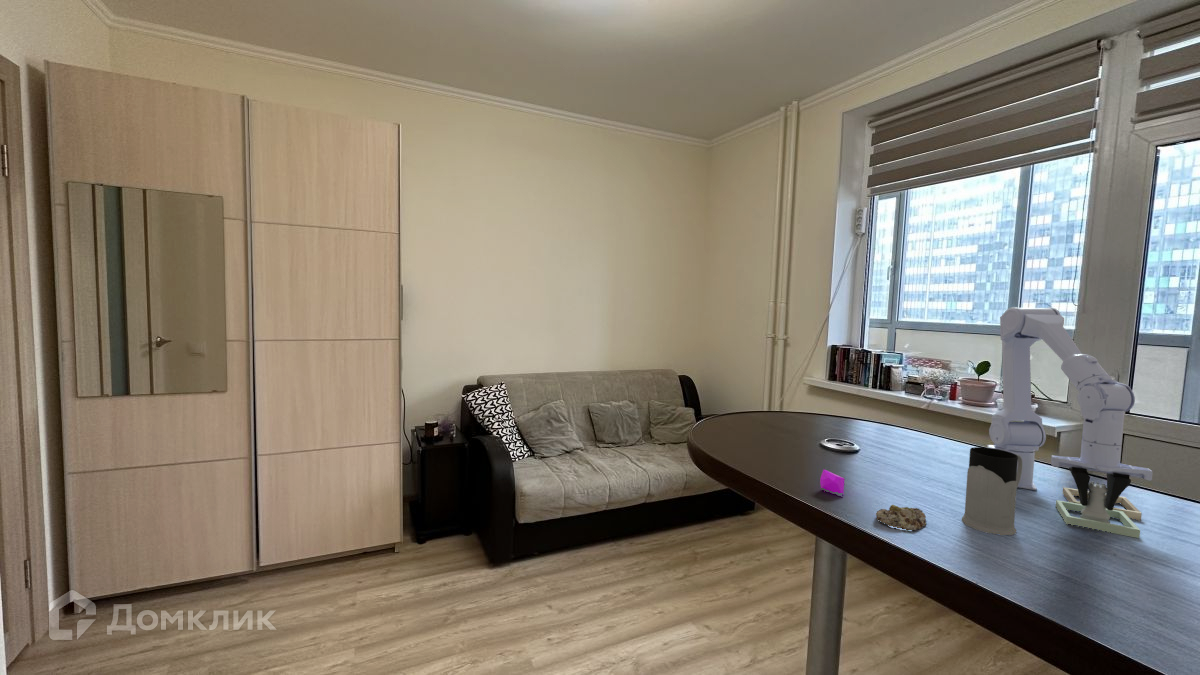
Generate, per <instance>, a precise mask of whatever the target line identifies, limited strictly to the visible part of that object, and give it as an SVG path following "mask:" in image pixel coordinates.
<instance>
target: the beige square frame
mask: <svg viewBox="0 0 1200 675" xmlns="http://www.w3.org/2000/svg"><path fill="white" fill-rule="evenodd" d="M1088 493H1089V490H1088ZM1063 494H1064V495H1063ZM1062 495H1063V496H1064V498H1065V497H1066V498H1067V499H1066V498H1065V499H1066V501H1067V500H1068V501H1069V502H1071V503H1077V504H1081V503H1080V500H1079V501H1078V500H1077V499H1076V497H1074V496H1079V492H1078V488H1077V489H1076V488H1070V487H1066V486H1063V487H1062ZM1073 495H1074V496H1073ZM1105 496H1106V493H1105ZM1088 497H1089V495H1088ZM1105 499H1106V498H1105ZM1068 501H1067V502H1068ZM1116 503H1121V504H1120V505H1123V506H1124V507H1125V508H1126V509H1127V510H1126V509H1125V508H1124V507H1123V506H1122V507H1123V508H1118V507H1113V510H1117V511H1123V512H1124V513H1125V514H1126V515H1127V516H1128V518H1132V519H1131V520H1134V519H1136V521H1142V516H1143V515H1142V514H1143V513H1142V512H1141V511H1140V510H1139V509H1138V508H1137V507H1136V506H1135V505H1134V504H1133V503H1132V502H1131V501H1130V500H1129V499H1128V498H1127V497H1126V496H1121V495H1120V496H1119V497H1118V499H1117V501H1116ZM1116 503H1115V504H1116ZM1105 509H1107V508H1106V507H1105Z"/></svg>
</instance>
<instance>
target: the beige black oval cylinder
mask: <svg viewBox="0 0 1200 675" xmlns="http://www.w3.org/2000/svg"><path fill="white" fill-rule="evenodd" d="M968 459H969V460H968V468H967V473H966V486H965V487H966V488H965V489H966V491H965V503H964V515H963V516H962V517H961V522H962V523H963V524H964V525H966V526H967V527H969V528H971V529H974V530H976V531H979V532H982V531H983V532H982V533H986V532H987V534H990V533H993V534H992V535H995V534H1000V535H999V536H1003V535H1009V536H1014V535H1016V534H1017V532H1016V531H1017V528H1016V527H1015V515H1016V502H1017V490H1018V488H1019V487H1018V484H1019V481H1020V477H1021V473H1022V458H1021V457H1020V456H1019V455H1016V454H1013V453H1011V452H1008V451H1004V450H999V449H993V448H987V447H982V446H981V447H980V446H975V447H971V448H969V458H968ZM1017 461H1018V469H1017ZM1015 533H1016V534H1015ZM1013 534H1014V535H1013Z"/></svg>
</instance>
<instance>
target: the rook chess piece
mask: <svg viewBox="0 0 1200 675" xmlns="http://www.w3.org/2000/svg"><path fill="white" fill-rule="evenodd" d="M1088 491H1089V493H1088V495H1089V497H1088V502H1087V506H1085V507H1084V509H1082V510H1081V512H1080V513H1081V514H1080V515H1079V518H1083V519H1089V520H1094V521H1100V522H1105V523H1110V524H1111V522H1110V521H1109V520H1110V519H1111V518H1110V516H1109V515H1108V514H1107V511H1106V509H1105V498H1107V497H1106V496H1105V494H1106V493H1107V492H1108V491H1109V490H1108V489H1107V484H1105V483H1101V484H1100V482H1097V481H1096V482H1095V481H1089V486H1088Z"/></svg>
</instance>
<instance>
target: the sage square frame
mask: <svg viewBox="0 0 1200 675" xmlns="http://www.w3.org/2000/svg"><path fill="white" fill-rule="evenodd" d="M1056 507H1057V508H1056ZM1084 507H1085V506H1083V505H1082V504H1077V503H1071V502H1068V501H1064V500H1057V499H1056V500H1055V508H1056V510H1057V509H1058V510H1057V512H1058V511H1059V512H1060V513H1059V512H1058V513H1059V515H1060V514H1061V515H1060V517H1061V516H1062V517H1063V518H1062V517H1061V518H1062V519H1064V520H1063V521H1064V523H1065V522H1066V523H1065V524H1066V525H1068V524H1071V525H1070V526H1073V525H1078V526H1077V527H1079V526H1083V527H1082V528H1084V527H1088V528H1087V529H1089V528H1092V529H1091V530H1094V529H1098V530H1097V531H1099V530H1102V531H1101V532H1105V531H1107V532H1106V533H1110V532H1111V534H1116V535H1122V536H1126V537H1131V538H1132V537H1133V538H1136V539H1140V536H1141V529H1140V528H1139V527H1138V526H1137V525H1136V524H1135V523H1134V522H1133V520H1132V519H1129V518H1128V516H1127V515H1126V514H1125V513H1124V512H1123V511H1117V510H1108V509H1106V511H1107V514H1108V515H1109V516H1110V517H1114V518H1119V519H1120V520H1119V519H1118V520H1119V521H1120V523H1121V522H1122V523H1123V524H1122V523H1121V524H1114V523H1111V522H1110V523H1105V522H1100V521H1094V520H1089V519H1083V518H1081V517H1077V516H1071V515H1070V513H1069V511H1070V510H1075V511H1081V510H1082V509H1084ZM1066 509H1068V510H1066ZM1075 511H1074V512H1075ZM1114 518H1113V519H1114Z"/></svg>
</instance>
